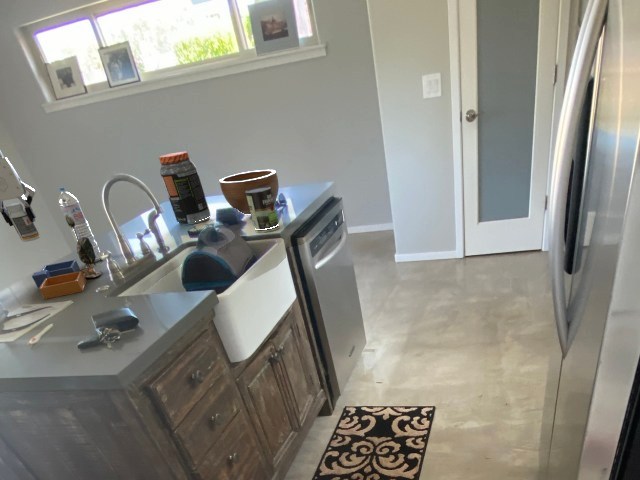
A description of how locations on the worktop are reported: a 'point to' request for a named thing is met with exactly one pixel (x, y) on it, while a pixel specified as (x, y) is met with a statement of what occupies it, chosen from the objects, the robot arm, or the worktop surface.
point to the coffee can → (262, 209)
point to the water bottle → (77, 219)
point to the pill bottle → (22, 222)
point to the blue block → (40, 277)
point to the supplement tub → (184, 188)
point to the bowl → (247, 187)
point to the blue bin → (62, 268)
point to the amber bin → (63, 285)
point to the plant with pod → (85, 252)
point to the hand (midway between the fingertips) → (22, 222)
